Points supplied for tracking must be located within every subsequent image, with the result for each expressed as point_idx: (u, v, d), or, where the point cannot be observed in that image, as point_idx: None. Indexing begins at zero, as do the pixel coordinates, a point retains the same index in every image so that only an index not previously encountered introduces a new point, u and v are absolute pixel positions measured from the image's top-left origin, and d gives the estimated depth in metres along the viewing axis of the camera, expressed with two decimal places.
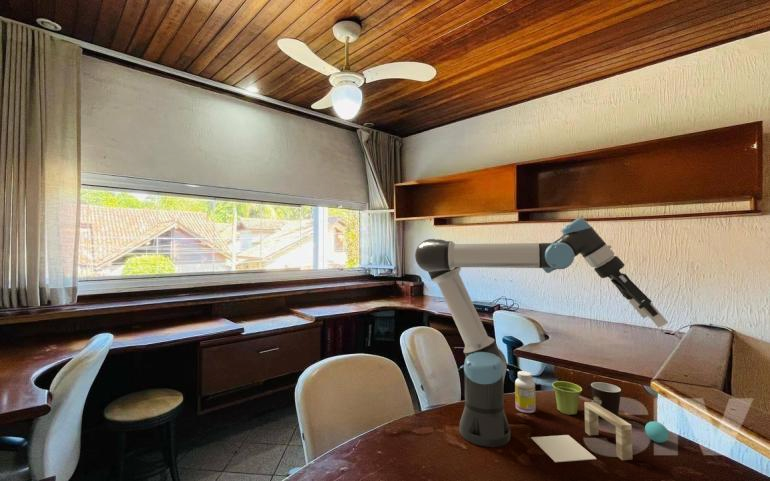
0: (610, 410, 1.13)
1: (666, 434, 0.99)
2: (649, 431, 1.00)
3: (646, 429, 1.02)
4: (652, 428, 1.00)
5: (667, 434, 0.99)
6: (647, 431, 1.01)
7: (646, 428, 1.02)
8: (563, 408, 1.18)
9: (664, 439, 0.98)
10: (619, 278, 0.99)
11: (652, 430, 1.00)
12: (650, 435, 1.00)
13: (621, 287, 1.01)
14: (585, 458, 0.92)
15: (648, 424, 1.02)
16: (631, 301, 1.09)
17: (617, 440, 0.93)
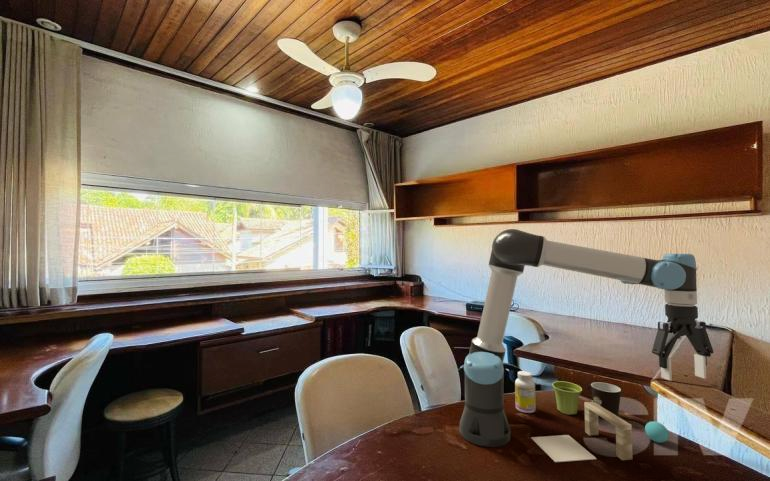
0: (610, 410, 1.13)
1: (666, 434, 0.99)
2: (649, 431, 1.00)
3: (646, 429, 1.02)
4: (652, 428, 1.00)
5: (667, 434, 0.99)
6: (647, 431, 1.01)
7: (646, 428, 1.02)
8: (563, 408, 1.18)
9: (664, 439, 0.98)
10: (659, 323, 1.03)
11: (652, 430, 1.00)
12: (650, 435, 1.00)
13: None
14: (585, 458, 0.92)
15: (648, 424, 1.02)
16: (695, 356, 1.04)
17: (617, 440, 0.93)
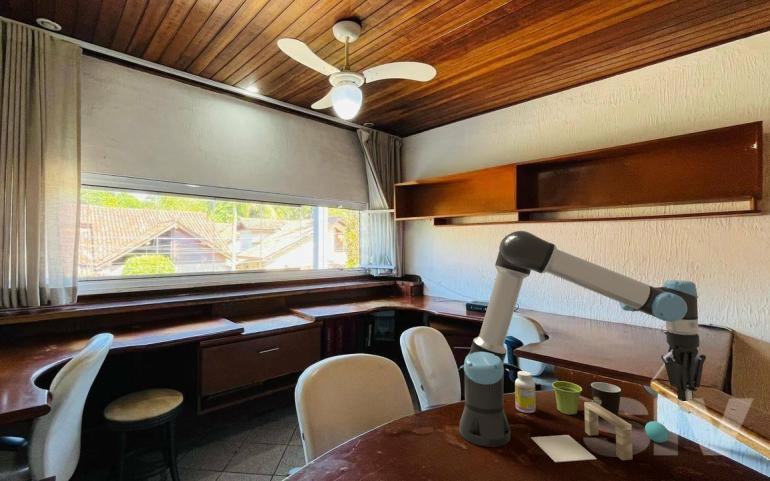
0: (610, 410, 1.13)
1: (666, 434, 0.99)
2: (649, 431, 1.00)
3: (646, 429, 1.02)
4: (652, 428, 1.00)
5: (667, 434, 0.99)
6: (647, 431, 1.01)
7: (646, 428, 1.02)
8: (563, 408, 1.18)
9: (664, 439, 0.98)
10: (662, 358, 1.03)
11: (652, 430, 1.00)
12: (650, 435, 1.00)
13: (673, 361, 1.04)
14: (585, 458, 0.92)
15: (648, 424, 1.02)
16: None
17: (617, 440, 0.93)
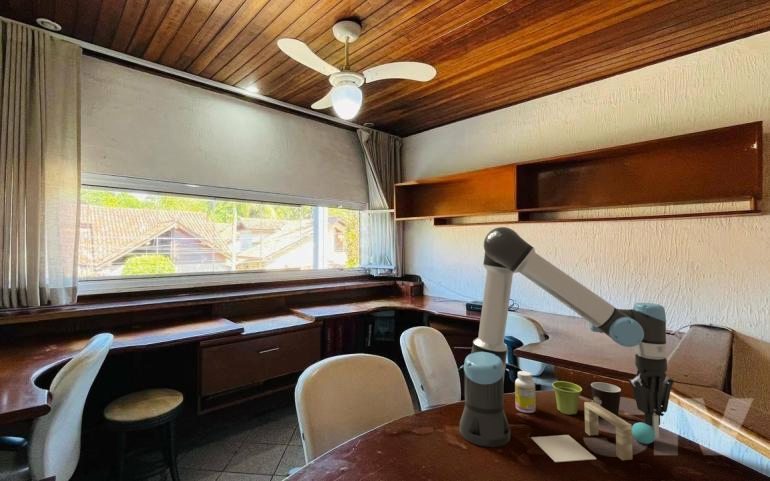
0: (610, 410, 1.13)
1: (650, 435, 0.98)
2: (638, 440, 1.00)
3: None
4: (638, 438, 0.99)
5: (651, 433, 0.98)
6: None
7: (635, 437, 1.01)
8: (563, 408, 1.18)
9: (653, 439, 0.98)
10: (630, 381, 1.02)
11: (639, 440, 0.99)
12: (642, 442, 1.00)
13: (641, 385, 1.03)
14: (585, 458, 0.92)
15: (633, 433, 1.01)
16: None
17: (617, 440, 0.93)
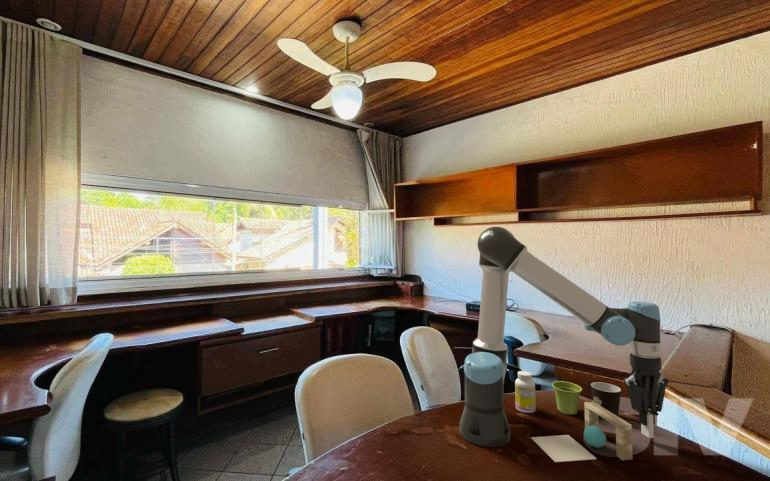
0: (610, 410, 1.13)
1: (602, 438, 0.96)
2: (587, 439, 0.98)
3: (584, 437, 0.99)
4: (588, 436, 0.98)
5: (603, 438, 0.96)
6: (585, 439, 0.99)
7: (584, 436, 0.99)
8: (563, 408, 1.18)
9: (602, 444, 0.96)
10: (624, 381, 1.01)
11: (588, 438, 0.97)
12: (589, 443, 0.98)
13: (636, 384, 1.02)
14: (585, 458, 0.92)
15: (584, 432, 0.99)
16: None
17: (617, 440, 0.93)
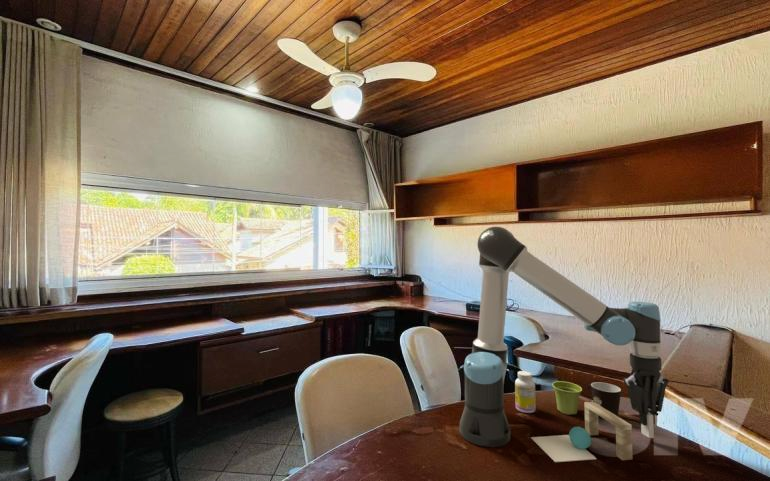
0: (610, 410, 1.13)
1: (583, 442, 0.95)
2: None
3: None
4: (581, 448, 0.97)
5: (582, 439, 0.96)
6: None
7: None
8: (563, 408, 1.18)
9: (588, 441, 0.96)
10: (624, 381, 1.01)
11: None
12: None
13: (636, 384, 1.02)
14: (585, 458, 0.92)
15: None
16: None
17: (617, 440, 0.93)
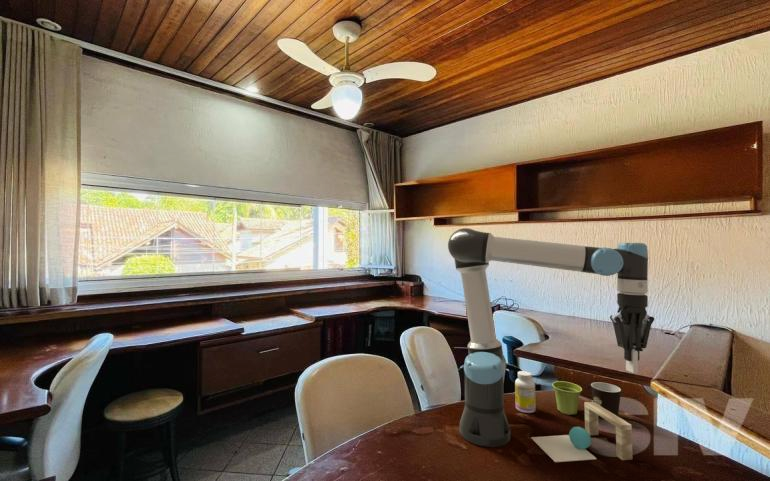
0: (610, 410, 1.13)
1: (583, 442, 0.95)
2: None
3: None
4: (581, 448, 0.97)
5: (582, 439, 0.96)
6: None
7: None
8: (563, 408, 1.18)
9: (588, 441, 0.96)
10: (611, 318, 1.04)
11: None
12: None
13: (622, 322, 1.05)
14: (585, 458, 0.92)
15: None
16: None
17: (617, 440, 0.93)
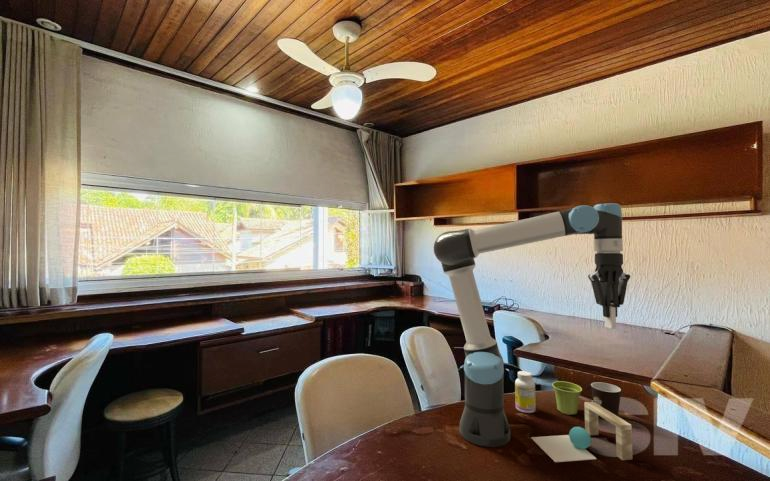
0: (610, 410, 1.13)
1: (583, 442, 0.95)
2: None
3: None
4: (581, 448, 0.97)
5: (582, 439, 0.96)
6: None
7: None
8: (563, 408, 1.18)
9: (588, 441, 0.96)
10: (589, 276, 1.08)
11: None
12: None
13: (600, 281, 1.09)
14: (585, 458, 0.92)
15: None
16: None
17: (617, 440, 0.93)
